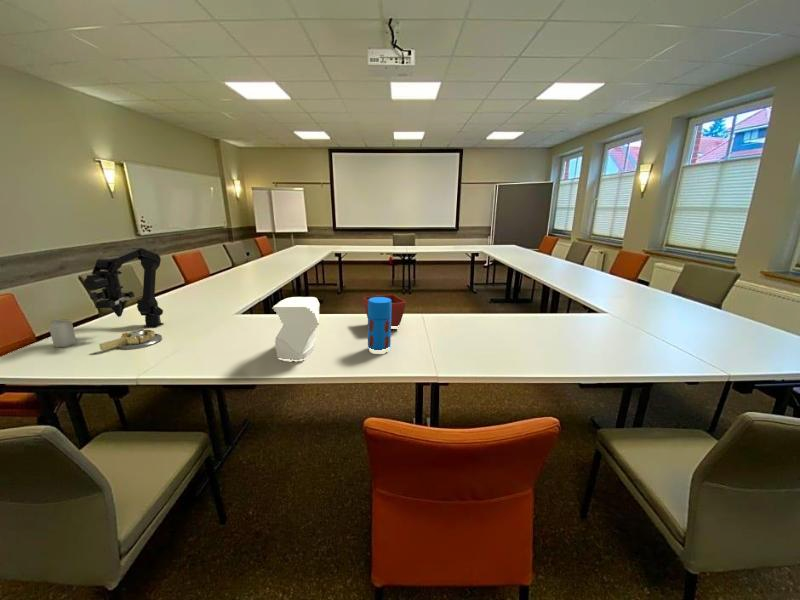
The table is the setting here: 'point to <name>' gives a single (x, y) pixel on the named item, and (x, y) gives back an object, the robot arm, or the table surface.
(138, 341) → the wooden gear crank
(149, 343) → the cap plate
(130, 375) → the table surface
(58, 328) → the can
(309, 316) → the white irregular block
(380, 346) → the thermos
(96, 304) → the robot arm
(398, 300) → the plant pot
